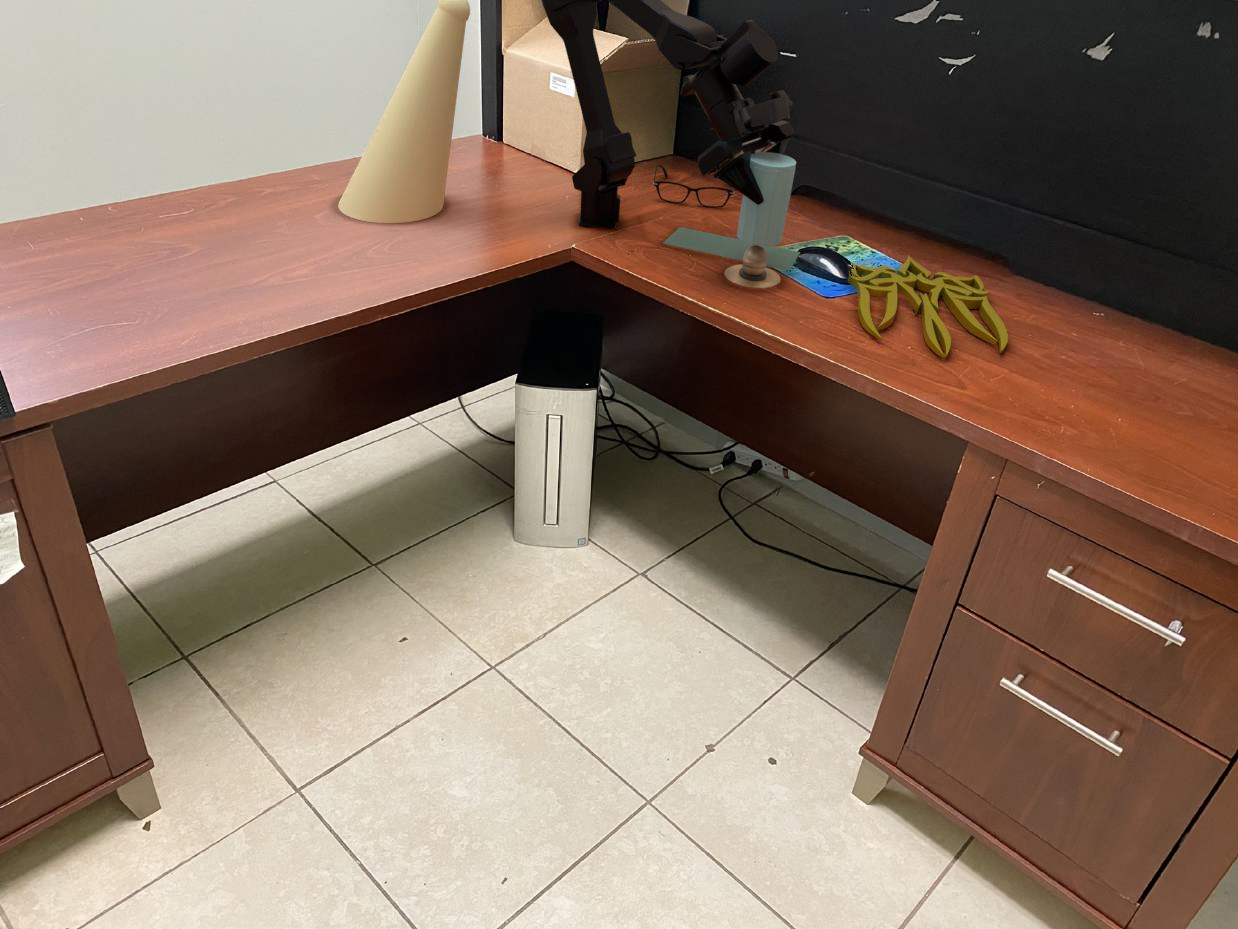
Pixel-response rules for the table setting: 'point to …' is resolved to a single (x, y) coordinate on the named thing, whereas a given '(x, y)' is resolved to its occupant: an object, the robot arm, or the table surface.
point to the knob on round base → (753, 270)
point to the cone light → (414, 130)
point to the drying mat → (728, 247)
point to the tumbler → (767, 200)
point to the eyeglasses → (689, 189)
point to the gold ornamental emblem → (927, 302)
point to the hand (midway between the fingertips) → (773, 197)
